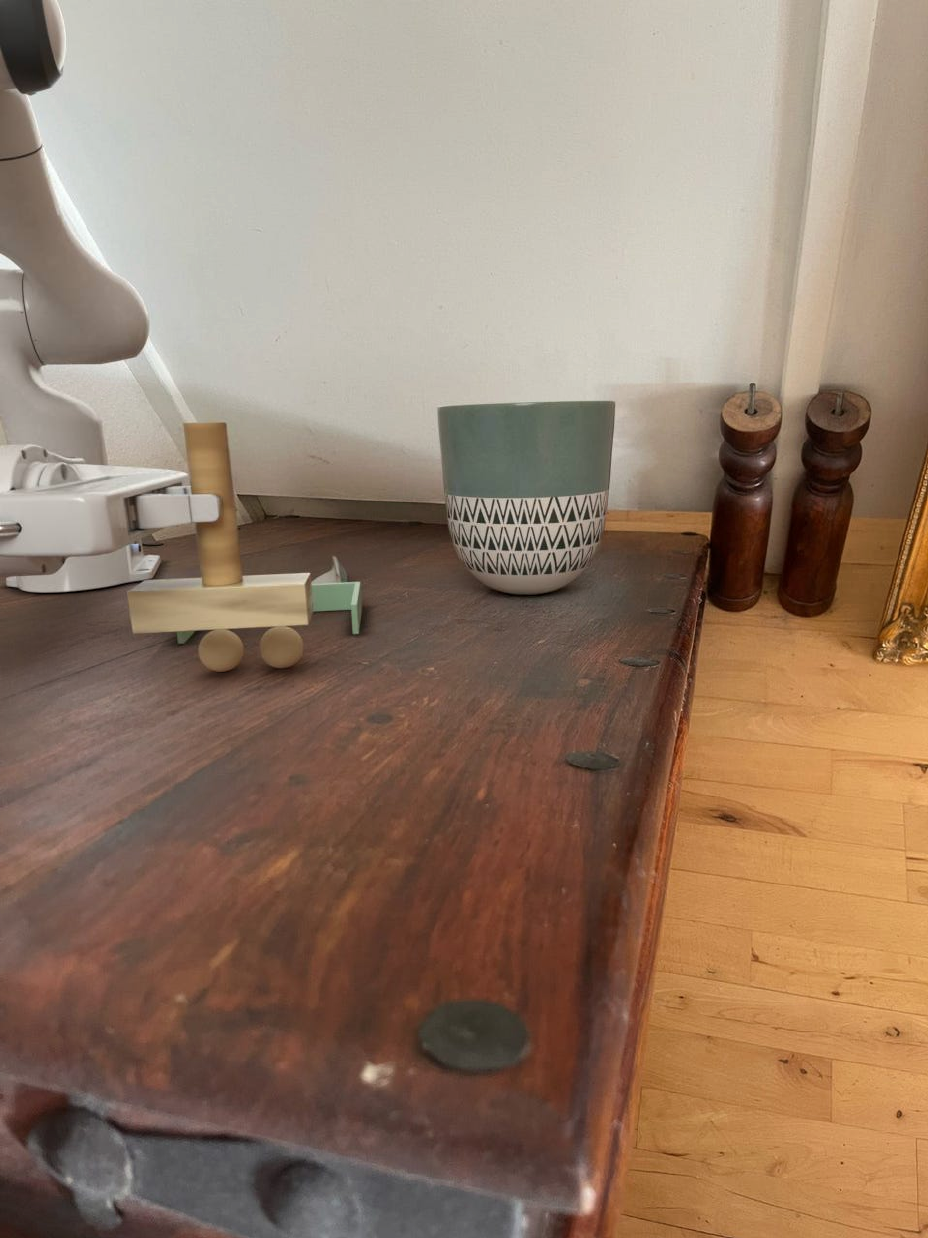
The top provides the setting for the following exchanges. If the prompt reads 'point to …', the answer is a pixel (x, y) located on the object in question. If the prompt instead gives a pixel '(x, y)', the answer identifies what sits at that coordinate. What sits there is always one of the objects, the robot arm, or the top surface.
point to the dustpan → (325, 603)
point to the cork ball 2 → (281, 647)
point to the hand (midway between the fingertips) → (227, 503)
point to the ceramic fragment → (332, 574)
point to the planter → (526, 489)
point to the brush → (218, 563)
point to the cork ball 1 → (220, 650)
